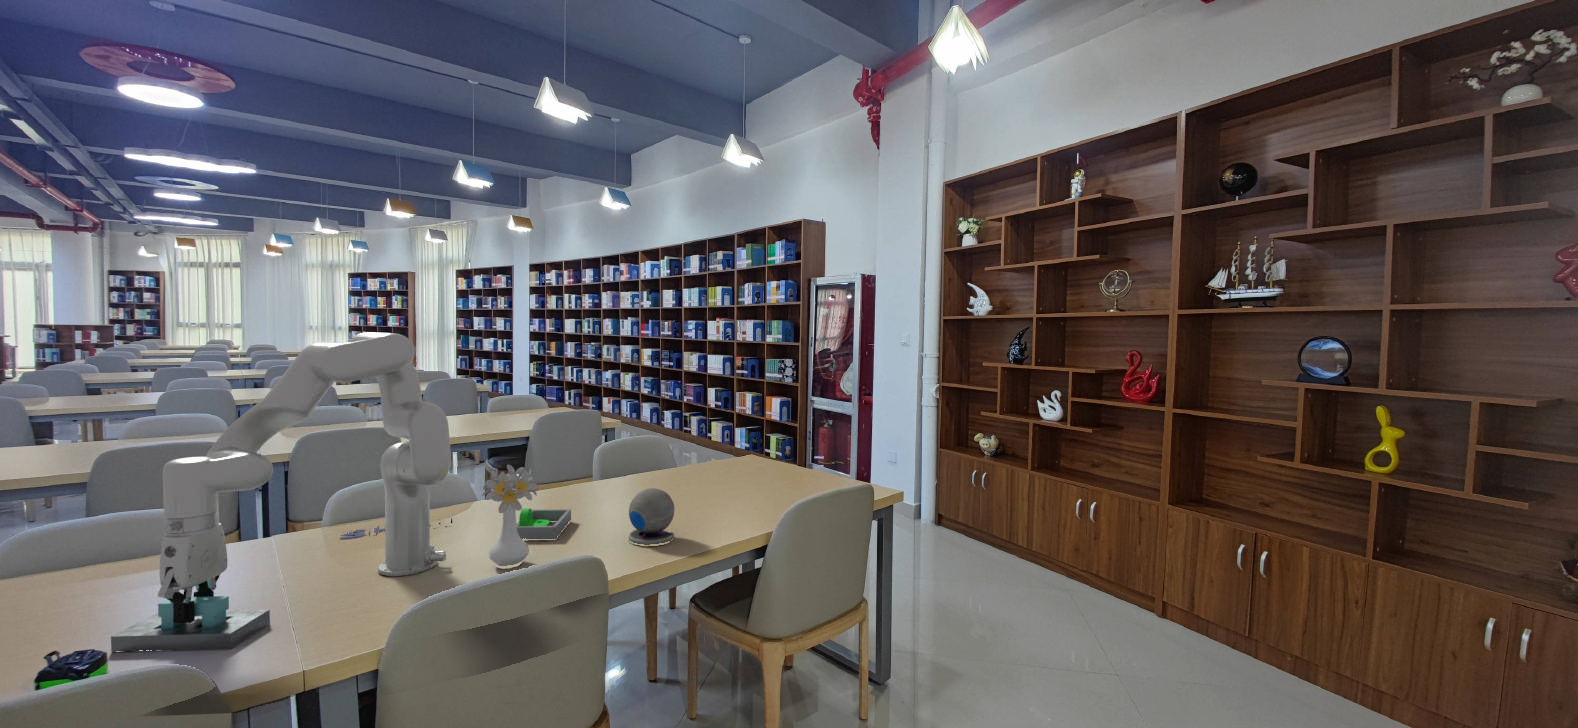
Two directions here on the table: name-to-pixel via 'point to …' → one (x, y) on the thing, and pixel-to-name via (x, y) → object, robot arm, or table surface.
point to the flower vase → (509, 513)
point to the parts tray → (545, 531)
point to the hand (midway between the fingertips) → (194, 615)
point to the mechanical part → (530, 519)
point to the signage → (359, 533)
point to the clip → (197, 611)
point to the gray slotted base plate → (191, 633)
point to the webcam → (651, 517)
